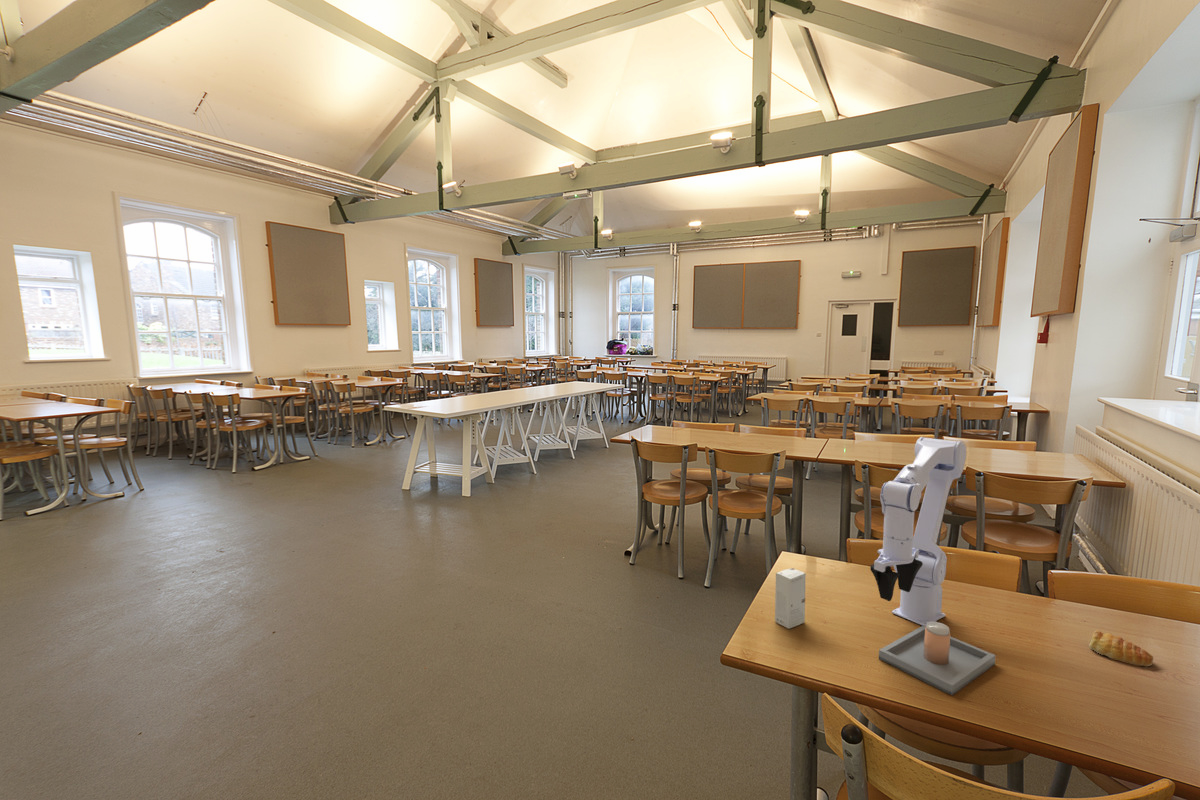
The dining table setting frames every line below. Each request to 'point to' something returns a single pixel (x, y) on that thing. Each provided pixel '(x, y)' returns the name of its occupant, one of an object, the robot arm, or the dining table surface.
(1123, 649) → the pastry
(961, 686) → the tray
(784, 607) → the skincare box
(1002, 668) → the dining table surface
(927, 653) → the shaker
